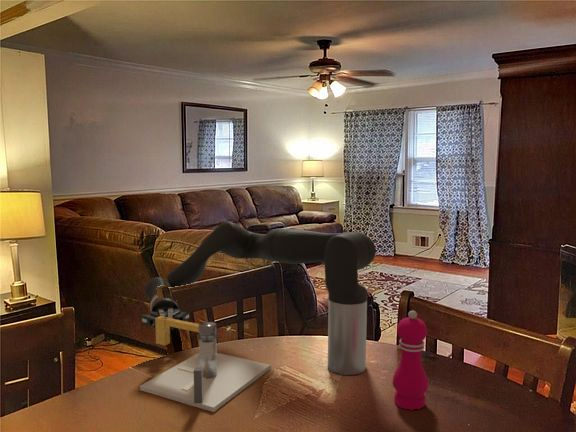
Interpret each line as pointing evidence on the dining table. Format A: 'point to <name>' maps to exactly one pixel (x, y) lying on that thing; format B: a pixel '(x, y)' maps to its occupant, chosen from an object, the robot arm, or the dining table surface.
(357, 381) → the dining table surface
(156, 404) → the dining table surface
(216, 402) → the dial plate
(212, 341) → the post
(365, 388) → the dining table surface
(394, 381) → the pepper mill
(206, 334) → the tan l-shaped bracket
